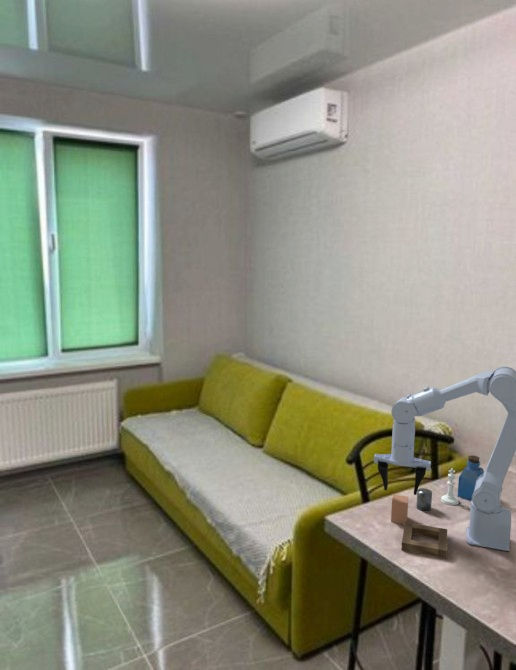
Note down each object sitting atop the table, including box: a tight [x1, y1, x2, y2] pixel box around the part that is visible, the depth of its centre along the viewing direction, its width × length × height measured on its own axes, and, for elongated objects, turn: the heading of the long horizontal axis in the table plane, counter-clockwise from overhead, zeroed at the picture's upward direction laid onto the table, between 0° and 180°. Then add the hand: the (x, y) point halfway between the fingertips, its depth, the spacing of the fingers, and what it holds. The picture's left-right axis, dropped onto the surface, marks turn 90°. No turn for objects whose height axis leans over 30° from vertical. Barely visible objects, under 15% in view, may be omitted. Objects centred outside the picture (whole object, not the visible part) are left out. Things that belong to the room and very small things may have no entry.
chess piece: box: [440, 467, 460, 506], centre depth 151 cm, size 5×5×10 cm
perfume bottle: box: [457, 455, 485, 501], centre depth 154 cm, size 6×6×12 cm
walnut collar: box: [400, 521, 448, 559], centre depth 129 cm, size 10×10×2 cm
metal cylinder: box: [415, 487, 433, 512], centre depth 147 cm, size 4×4×5 cm
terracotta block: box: [390, 494, 409, 525], centre depth 141 cm, size 4×4×6 cm
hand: (400, 491), depth 140 cm, fingers open, 7 cm apart
